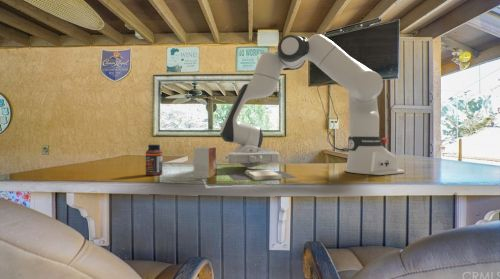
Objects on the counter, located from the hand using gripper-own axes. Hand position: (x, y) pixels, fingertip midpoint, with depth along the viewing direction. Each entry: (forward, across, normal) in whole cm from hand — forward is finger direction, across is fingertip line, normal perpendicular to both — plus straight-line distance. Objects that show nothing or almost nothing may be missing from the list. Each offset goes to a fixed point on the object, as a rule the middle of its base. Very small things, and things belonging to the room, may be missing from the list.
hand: (258, 159), depth 102 cm
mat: (+2, 0, +6) cm, 6 cm away
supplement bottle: (-12, -37, +6) cm, 39 cm away
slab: (-2, 0, +5) cm, 5 cm away
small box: (-2, -19, +6) cm, 20 cm away
